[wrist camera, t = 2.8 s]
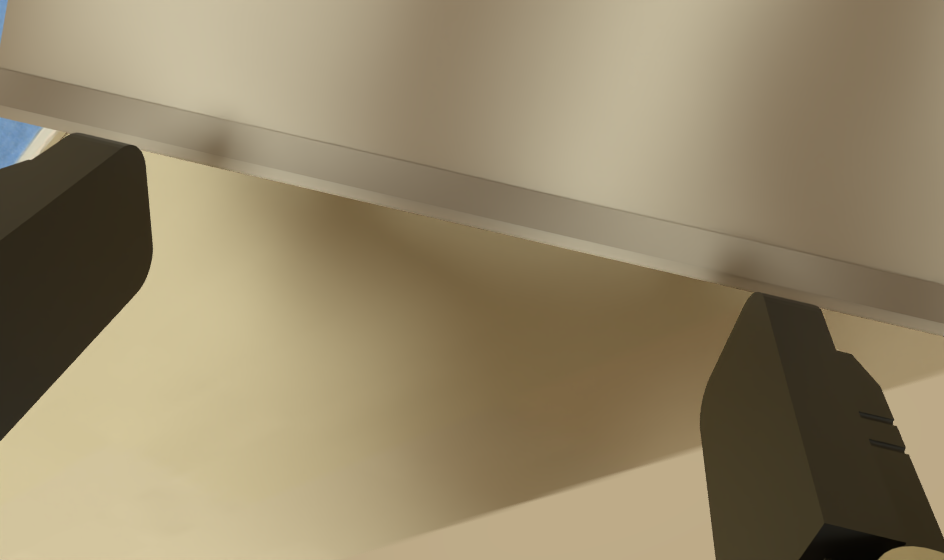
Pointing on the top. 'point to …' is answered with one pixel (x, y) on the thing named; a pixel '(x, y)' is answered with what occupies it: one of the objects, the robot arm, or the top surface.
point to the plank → (548, 122)
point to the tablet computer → (22, 131)
